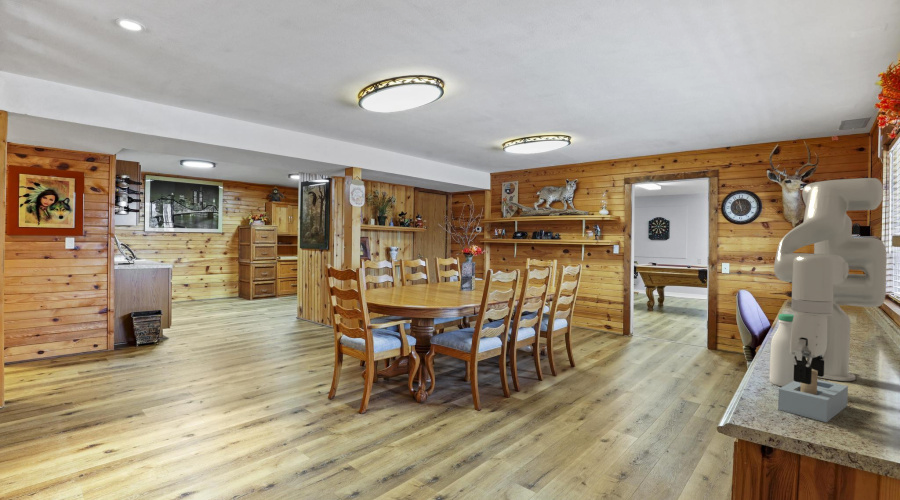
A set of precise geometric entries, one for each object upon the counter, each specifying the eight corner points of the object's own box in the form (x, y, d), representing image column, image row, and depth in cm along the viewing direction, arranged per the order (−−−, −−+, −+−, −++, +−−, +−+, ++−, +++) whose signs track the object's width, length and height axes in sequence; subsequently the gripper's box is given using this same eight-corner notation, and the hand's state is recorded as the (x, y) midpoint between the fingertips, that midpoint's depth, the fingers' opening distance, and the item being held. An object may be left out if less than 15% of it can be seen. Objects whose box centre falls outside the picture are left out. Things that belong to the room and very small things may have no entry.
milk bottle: (809, 390, 120) (812, 317, 119) (778, 388, 121) (780, 316, 121) (793, 381, 127) (796, 313, 127) (763, 379, 129) (766, 311, 128)
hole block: (802, 395, 116) (802, 376, 115) (847, 406, 108) (848, 385, 108) (777, 409, 105) (778, 388, 105) (826, 422, 98) (827, 400, 98)
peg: (801, 408, 106) (803, 367, 106) (817, 412, 104) (819, 370, 103) (797, 411, 104) (799, 369, 104) (813, 415, 102) (815, 372, 102)
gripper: (803, 302, 112) (801, 368, 112) (779, 308, 101) (777, 381, 102) (842, 306, 106) (839, 376, 106) (820, 313, 95) (817, 390, 96)
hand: (808, 378), depth 104 cm, fingers open, 9 cm apart
